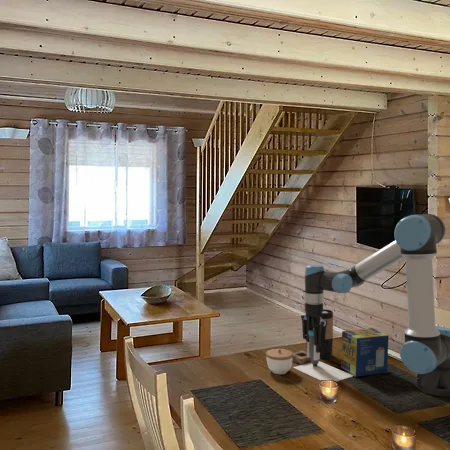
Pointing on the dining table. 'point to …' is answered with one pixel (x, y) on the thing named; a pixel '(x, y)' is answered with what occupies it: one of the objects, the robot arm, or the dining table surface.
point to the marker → (312, 347)
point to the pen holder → (301, 357)
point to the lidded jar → (279, 360)
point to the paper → (323, 372)
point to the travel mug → (327, 334)
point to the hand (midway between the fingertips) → (313, 358)
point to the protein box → (364, 352)
